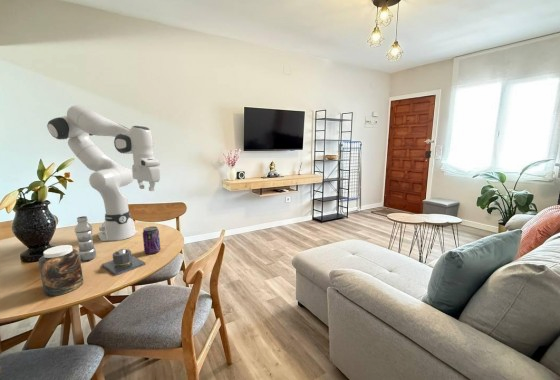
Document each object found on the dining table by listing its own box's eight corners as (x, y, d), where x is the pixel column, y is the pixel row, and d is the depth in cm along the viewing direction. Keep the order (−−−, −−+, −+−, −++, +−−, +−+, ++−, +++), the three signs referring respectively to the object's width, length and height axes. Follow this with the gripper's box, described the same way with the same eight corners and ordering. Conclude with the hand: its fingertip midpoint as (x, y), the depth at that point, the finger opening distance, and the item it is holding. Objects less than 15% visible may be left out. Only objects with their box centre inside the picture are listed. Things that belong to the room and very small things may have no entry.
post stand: (101, 266, 115) (99, 250, 114) (130, 256, 125) (129, 242, 123) (115, 275, 107) (113, 259, 106) (145, 264, 116) (143, 249, 115)
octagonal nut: (111, 261, 115) (110, 253, 114) (127, 256, 120) (126, 248, 119) (118, 265, 111) (117, 256, 110) (133, 260, 116) (132, 251, 115)
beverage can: (154, 255, 126) (151, 231, 124) (141, 254, 127) (138, 230, 125) (163, 249, 133) (161, 226, 131) (151, 248, 134) (148, 225, 132)
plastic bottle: (86, 263, 118) (79, 220, 114) (75, 261, 120) (69, 218, 117) (100, 257, 124) (94, 216, 120) (90, 255, 126) (84, 214, 123)
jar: (38, 290, 97) (31, 251, 94) (75, 276, 107) (70, 241, 104) (51, 299, 91) (44, 258, 88) (89, 284, 101) (84, 247, 98)
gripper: (127, 160, 129) (130, 188, 132) (147, 162, 117) (150, 193, 120) (140, 159, 134) (143, 186, 137) (161, 161, 122) (163, 191, 125)
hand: (146, 189), depth 128 cm, fingers open, 8 cm apart
